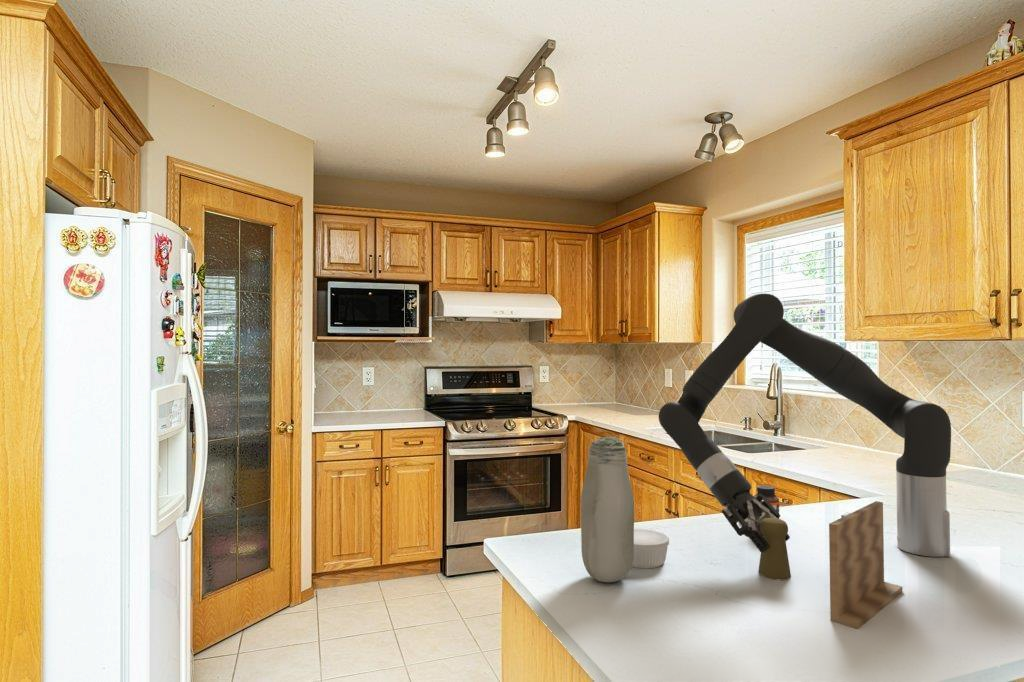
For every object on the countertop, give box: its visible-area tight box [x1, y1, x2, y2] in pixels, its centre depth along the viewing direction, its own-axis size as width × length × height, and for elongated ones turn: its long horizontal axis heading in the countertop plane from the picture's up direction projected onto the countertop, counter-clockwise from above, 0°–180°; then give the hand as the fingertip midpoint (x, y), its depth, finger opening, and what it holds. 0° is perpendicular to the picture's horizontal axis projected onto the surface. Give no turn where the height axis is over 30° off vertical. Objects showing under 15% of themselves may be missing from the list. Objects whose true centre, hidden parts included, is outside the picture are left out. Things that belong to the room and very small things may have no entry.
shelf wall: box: [828, 500, 903, 630], centre depth 104 cm, size 22×4×16 cm, turn 131°
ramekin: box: [631, 528, 670, 569], centre depth 127 cm, size 11×11×5 cm
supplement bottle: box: [753, 485, 780, 536], centre depth 145 cm, size 6×6×11 cm
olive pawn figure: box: [757, 518, 792, 581], centre depth 119 cm, size 6×6×11 cm
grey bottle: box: [580, 436, 635, 584], centre depth 117 cm, size 10×10×28 cm
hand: (776, 545), depth 119 cm, fingers open, 8 cm apart
